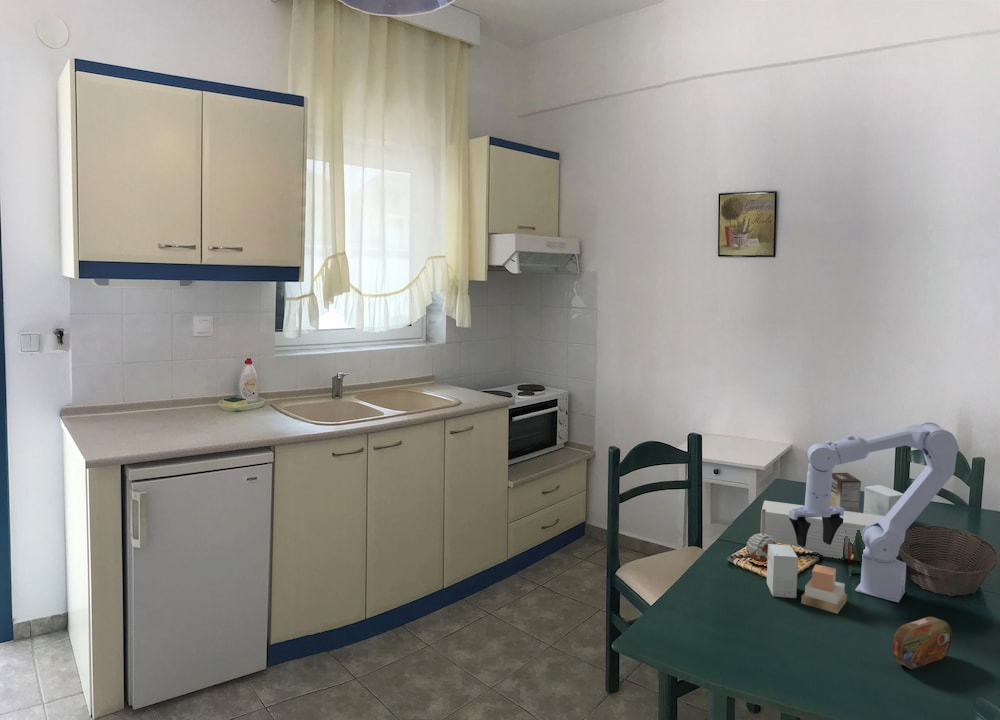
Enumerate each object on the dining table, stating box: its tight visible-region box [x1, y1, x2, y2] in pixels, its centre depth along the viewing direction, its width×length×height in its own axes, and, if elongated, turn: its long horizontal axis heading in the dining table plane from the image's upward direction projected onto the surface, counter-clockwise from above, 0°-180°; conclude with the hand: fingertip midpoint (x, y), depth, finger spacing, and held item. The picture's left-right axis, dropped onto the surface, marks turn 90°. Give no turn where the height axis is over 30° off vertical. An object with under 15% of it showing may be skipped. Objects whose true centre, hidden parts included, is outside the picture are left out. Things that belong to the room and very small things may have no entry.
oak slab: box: [800, 592, 848, 614], centre depth 163 cm, size 8×8×2 cm
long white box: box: [759, 500, 883, 560], centre depth 195 cm, size 32×11×11 cm, turn 65°
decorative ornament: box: [746, 508, 776, 562], centre depth 185 cm, size 8×8×15 cm
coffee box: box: [830, 472, 862, 513], centre depth 212 cm, size 9×6×16 cm
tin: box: [892, 616, 953, 670], centre depth 137 cm, size 15×3×8 cm, turn 114°
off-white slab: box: [804, 578, 846, 604], centre depth 163 cm, size 7×7×2 cm
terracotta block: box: [811, 564, 837, 592], centre depth 162 cm, size 4×4×4 cm
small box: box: [766, 544, 799, 599], centre depth 168 cm, size 8×6×10 cm
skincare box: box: [863, 484, 904, 516], centre depth 217 cm, size 10×6×10 cm, turn 14°
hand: (814, 544), depth 171 cm, fingers open, 7 cm apart
